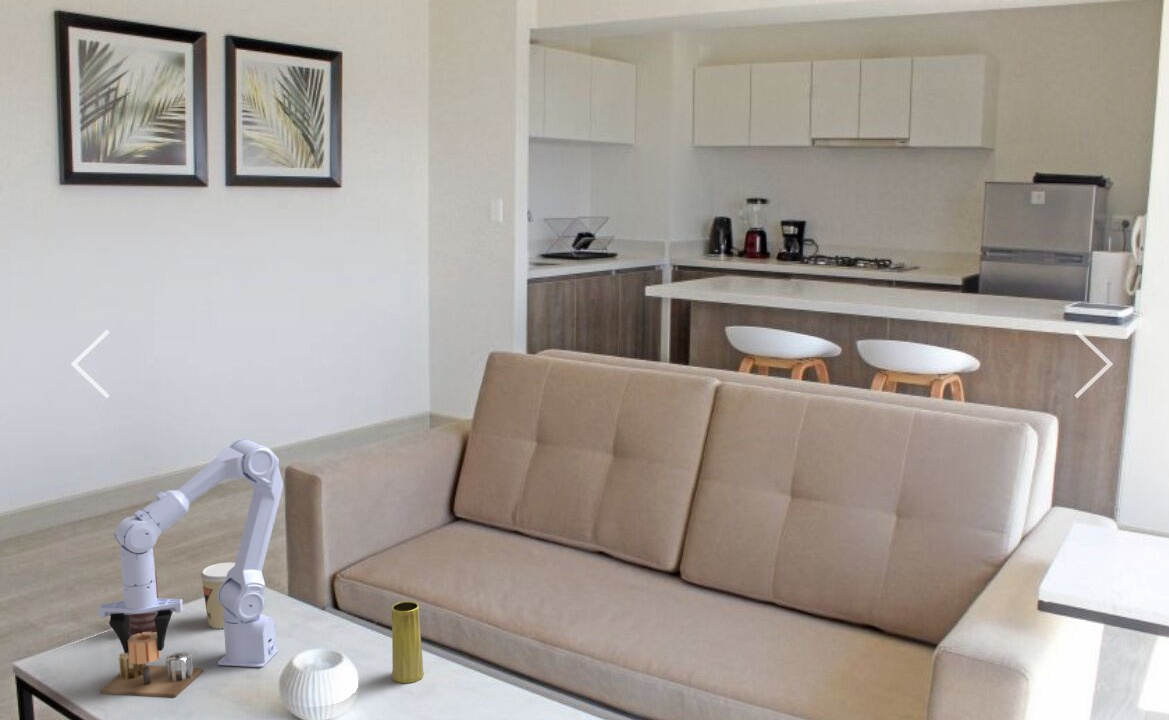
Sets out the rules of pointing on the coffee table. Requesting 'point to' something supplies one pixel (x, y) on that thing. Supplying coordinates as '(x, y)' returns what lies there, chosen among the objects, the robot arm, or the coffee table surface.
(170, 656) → the gear
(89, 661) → the coffee table surface
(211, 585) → the coffee cup
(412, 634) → the vase
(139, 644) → the idler gear
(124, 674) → the gear
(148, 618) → the can
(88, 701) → the coffee table surface
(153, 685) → the gear board
